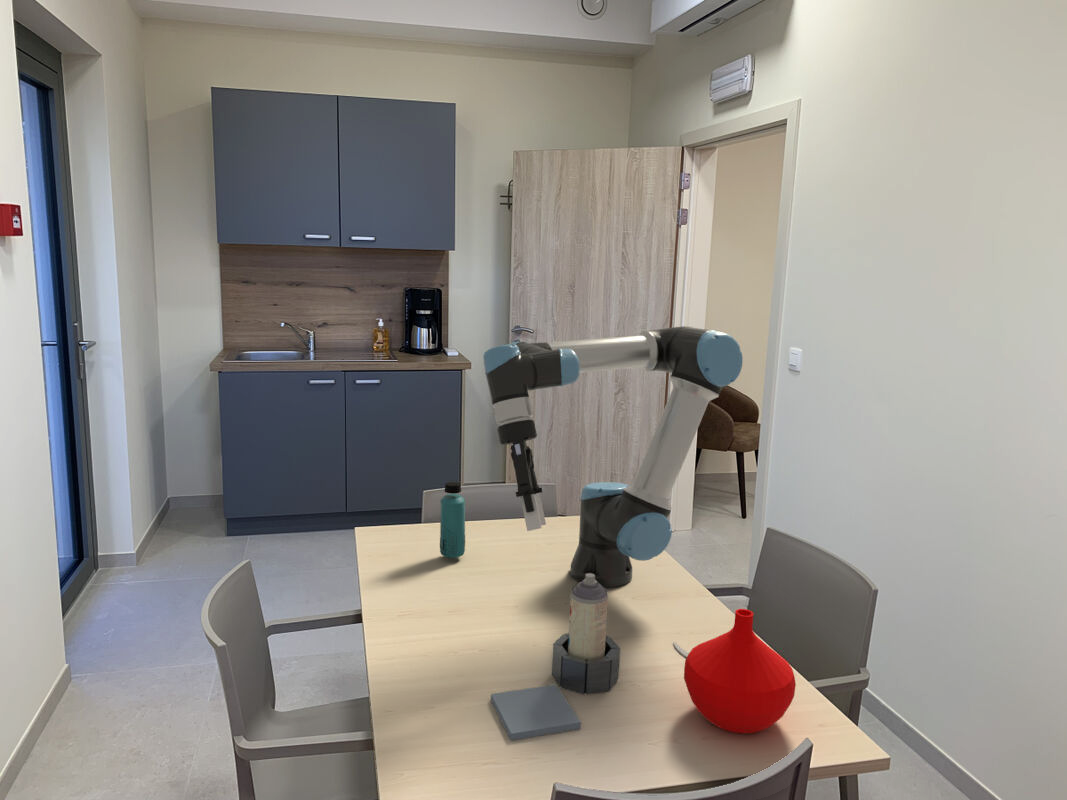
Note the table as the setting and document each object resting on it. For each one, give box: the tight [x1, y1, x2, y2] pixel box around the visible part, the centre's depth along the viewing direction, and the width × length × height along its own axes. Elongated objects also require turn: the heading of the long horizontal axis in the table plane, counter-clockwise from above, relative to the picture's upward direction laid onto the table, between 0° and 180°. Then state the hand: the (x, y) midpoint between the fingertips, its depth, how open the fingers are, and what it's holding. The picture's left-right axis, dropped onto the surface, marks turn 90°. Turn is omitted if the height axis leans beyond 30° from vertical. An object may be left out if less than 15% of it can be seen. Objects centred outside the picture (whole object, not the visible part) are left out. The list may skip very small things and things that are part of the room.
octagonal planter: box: [551, 632, 621, 695], centre depth 146 cm, size 12×12×6 cm
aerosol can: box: [568, 573, 609, 659], centre depth 145 cm, size 7×7×20 cm
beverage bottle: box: [439, 481, 466, 558], centre depth 199 cm, size 6×7×20 cm
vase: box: [683, 608, 797, 735], centre depth 134 cm, size 18×18×19 cm
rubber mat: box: [490, 683, 582, 741], centre depth 134 cm, size 12×12×1 cm
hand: (537, 527), depth 155 cm, fingers open, 13 cm apart
